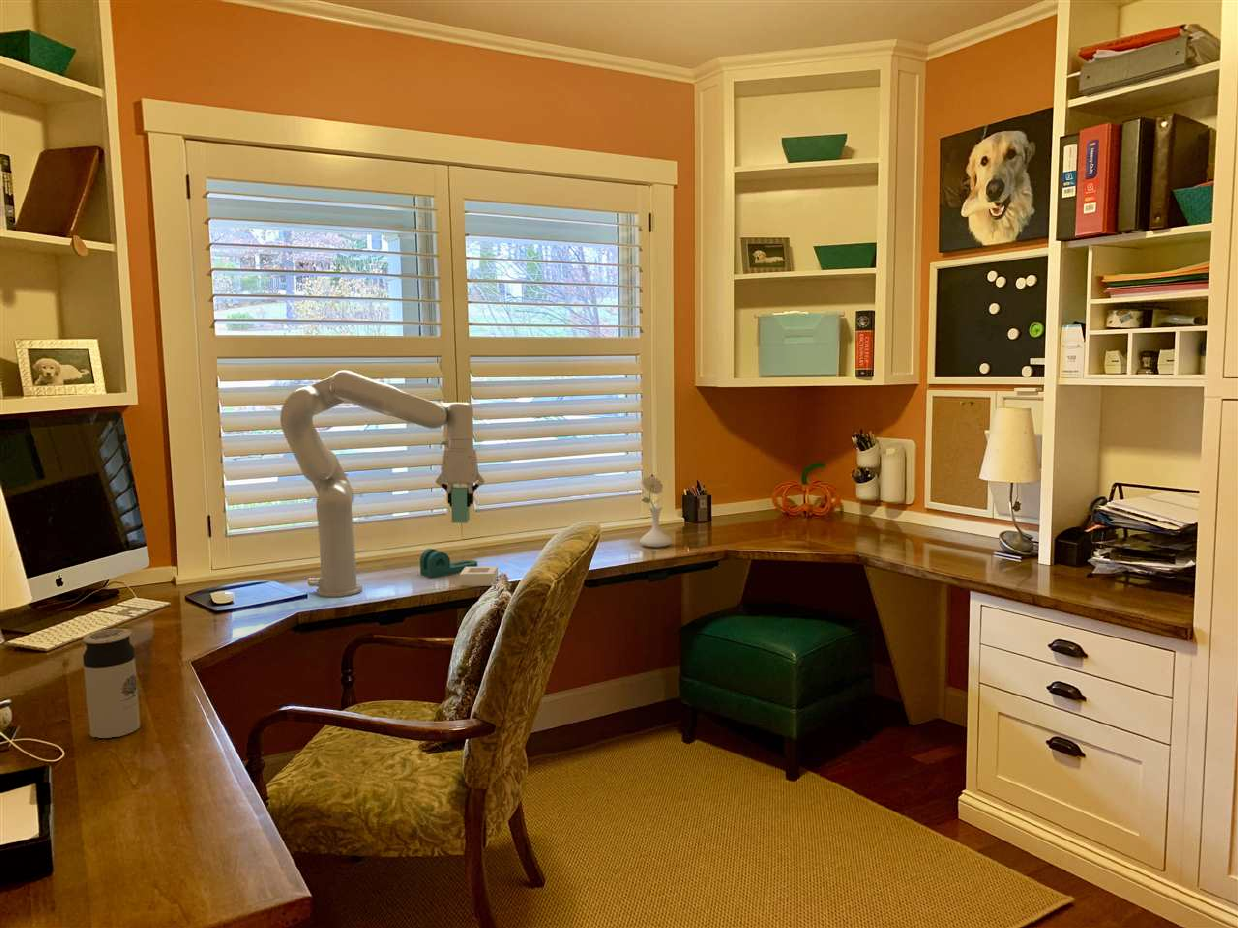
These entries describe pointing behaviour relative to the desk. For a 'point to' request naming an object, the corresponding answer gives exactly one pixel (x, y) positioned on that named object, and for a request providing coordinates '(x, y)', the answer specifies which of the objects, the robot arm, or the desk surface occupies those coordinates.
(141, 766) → the desk surface
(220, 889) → the desk surface
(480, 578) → the pocket block
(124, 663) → the travel mug
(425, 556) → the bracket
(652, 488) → the flower in vase
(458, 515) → the teal peg
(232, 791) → the desk surface
